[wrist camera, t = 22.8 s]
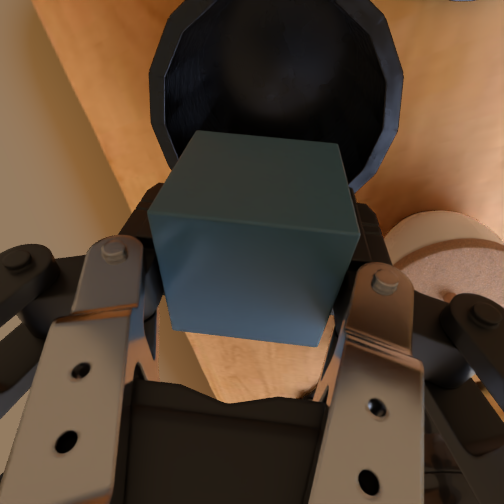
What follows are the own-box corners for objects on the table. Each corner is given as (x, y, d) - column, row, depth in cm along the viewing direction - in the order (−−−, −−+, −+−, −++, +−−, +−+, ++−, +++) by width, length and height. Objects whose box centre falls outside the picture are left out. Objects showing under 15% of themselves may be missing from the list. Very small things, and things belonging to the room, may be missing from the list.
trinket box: (350, 264, 35) (364, 336, 28) (392, 180, 27) (425, 251, 20) (442, 279, 35) (479, 355, 28) (509, 200, 27) (581, 277, 21)
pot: (363, 146, 26) (389, 212, 19) (220, 168, 28) (196, 233, 21) (370, -66, 17) (422, -90, 10) (167, -7, 20) (100, 5, 13)
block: (311, 249, 12) (318, 348, 9) (203, 237, 12) (172, 331, 9) (338, 142, 9) (362, 234, 6) (195, 128, 9) (144, 211, 6)
